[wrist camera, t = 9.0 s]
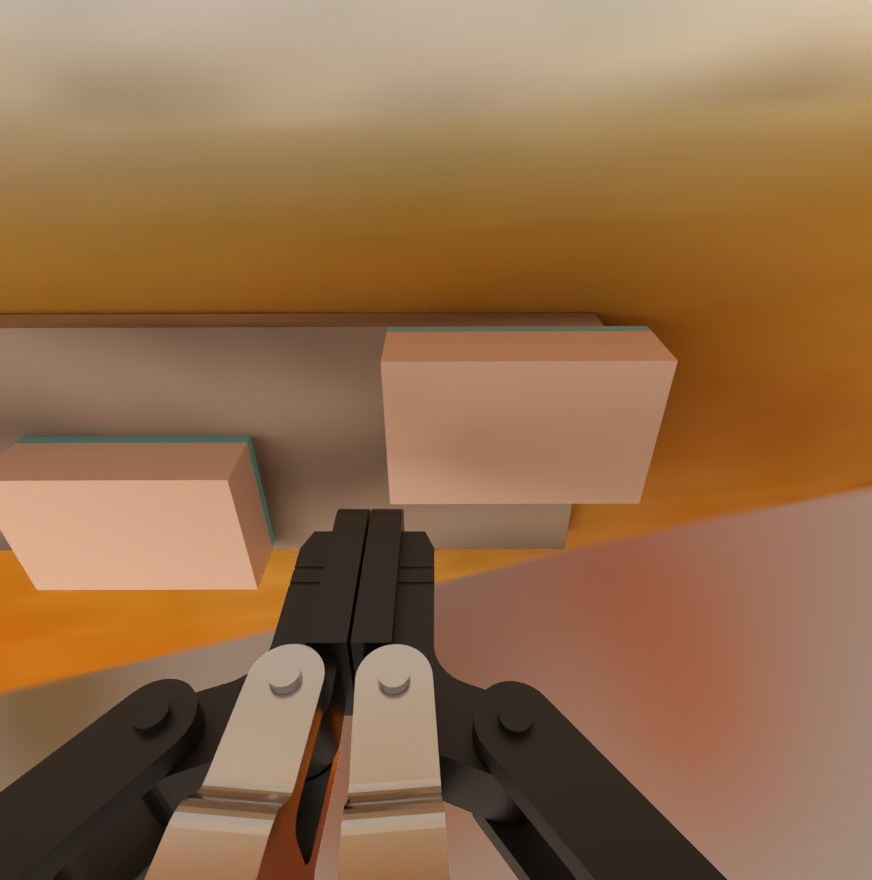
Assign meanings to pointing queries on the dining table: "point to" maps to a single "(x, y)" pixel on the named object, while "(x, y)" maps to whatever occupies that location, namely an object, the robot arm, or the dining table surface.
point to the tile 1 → (136, 512)
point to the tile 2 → (522, 413)
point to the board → (255, 406)
